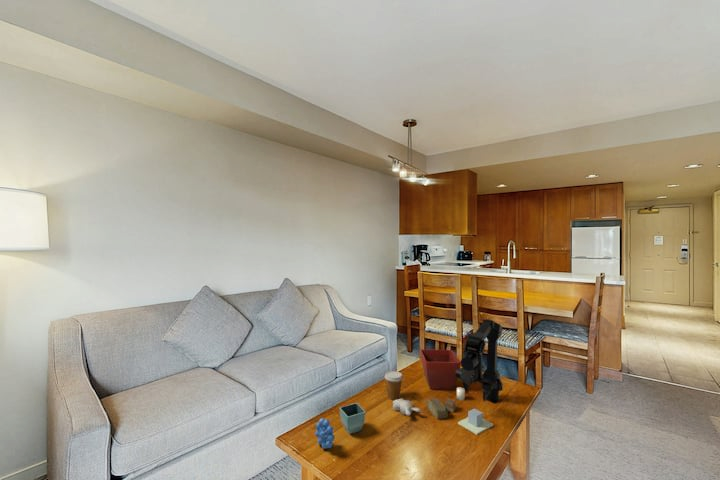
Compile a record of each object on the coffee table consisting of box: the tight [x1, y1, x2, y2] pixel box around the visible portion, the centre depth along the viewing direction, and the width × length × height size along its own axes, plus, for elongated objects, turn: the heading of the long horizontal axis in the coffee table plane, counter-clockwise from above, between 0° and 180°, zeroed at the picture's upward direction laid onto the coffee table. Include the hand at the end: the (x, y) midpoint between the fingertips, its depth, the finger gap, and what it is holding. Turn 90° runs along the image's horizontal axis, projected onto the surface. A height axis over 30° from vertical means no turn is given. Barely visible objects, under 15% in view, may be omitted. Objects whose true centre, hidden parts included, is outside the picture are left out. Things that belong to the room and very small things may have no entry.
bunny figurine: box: [392, 397, 422, 417], centre depth 157 cm, size 10×5×15 cm
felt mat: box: [457, 416, 494, 435], centre depth 147 cm, size 12×10×1 cm
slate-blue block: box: [467, 408, 484, 427], centre depth 147 cm, size 4×4×5 cm
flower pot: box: [339, 402, 366, 435], centre depth 142 cm, size 9×9×9 cm
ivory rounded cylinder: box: [456, 386, 466, 401], centre depth 170 cm, size 4×4×5 cm
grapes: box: [314, 417, 336, 450], centre depth 130 cm, size 12×7×12 cm, turn 41°
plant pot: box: [420, 349, 461, 391], centre depth 186 cm, size 19×19×17 cm
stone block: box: [426, 397, 448, 420], centre depth 156 cm, size 6×12×5 cm, turn 15°
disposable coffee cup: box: [384, 370, 404, 401], centre depth 171 cm, size 10×10×12 cm
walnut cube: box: [444, 398, 457, 413], centre depth 159 cm, size 4×4×4 cm
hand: (475, 396), depth 150 cm, fingers open, 9 cm apart
